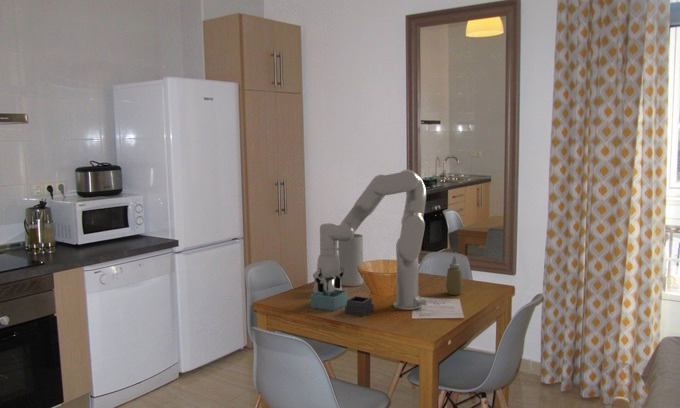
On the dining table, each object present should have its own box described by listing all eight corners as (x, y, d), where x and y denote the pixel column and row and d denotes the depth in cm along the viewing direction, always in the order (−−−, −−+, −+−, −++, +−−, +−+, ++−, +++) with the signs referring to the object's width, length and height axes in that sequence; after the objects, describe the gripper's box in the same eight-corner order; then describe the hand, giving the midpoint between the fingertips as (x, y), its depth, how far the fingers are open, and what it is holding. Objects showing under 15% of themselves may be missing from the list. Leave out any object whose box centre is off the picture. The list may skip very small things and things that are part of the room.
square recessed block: (373, 310, 241) (373, 298, 241) (364, 316, 233) (364, 303, 233) (355, 307, 245) (354, 295, 245) (345, 313, 238) (345, 300, 237)
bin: (347, 304, 251) (347, 291, 251) (334, 311, 241) (334, 297, 240) (324, 300, 257) (324, 288, 256) (310, 307, 247) (310, 294, 246)
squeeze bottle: (444, 295, 264) (444, 257, 262) (447, 290, 271) (447, 254, 269) (461, 296, 261) (461, 258, 259) (464, 292, 268) (464, 255, 266)
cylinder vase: (356, 279, 296) (355, 233, 293) (367, 285, 285) (367, 236, 282) (334, 282, 291) (334, 235, 288) (345, 288, 279) (344, 238, 277)
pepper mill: (330, 302, 252) (330, 274, 251) (337, 304, 249) (337, 275, 247) (322, 304, 249) (321, 275, 248) (328, 306, 246) (328, 277, 244)
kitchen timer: (347, 292, 271) (346, 262, 270) (332, 299, 260) (332, 267, 258) (323, 289, 278) (322, 259, 277) (307, 295, 267) (306, 264, 265)
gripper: (338, 248, 255) (338, 284, 257) (307, 253, 244) (308, 291, 245) (349, 250, 249) (349, 287, 251) (318, 255, 238) (319, 295, 240)
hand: (329, 289), depth 248 cm, fingers open, 9 cm apart
